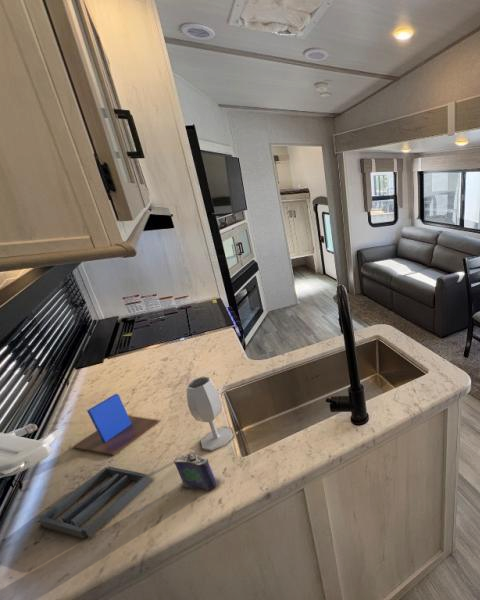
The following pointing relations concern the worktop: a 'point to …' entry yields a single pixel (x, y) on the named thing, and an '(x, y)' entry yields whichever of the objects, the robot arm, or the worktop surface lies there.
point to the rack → (94, 502)
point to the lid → (109, 417)
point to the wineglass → (207, 411)
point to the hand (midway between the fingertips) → (47, 428)
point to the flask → (195, 471)
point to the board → (116, 437)
